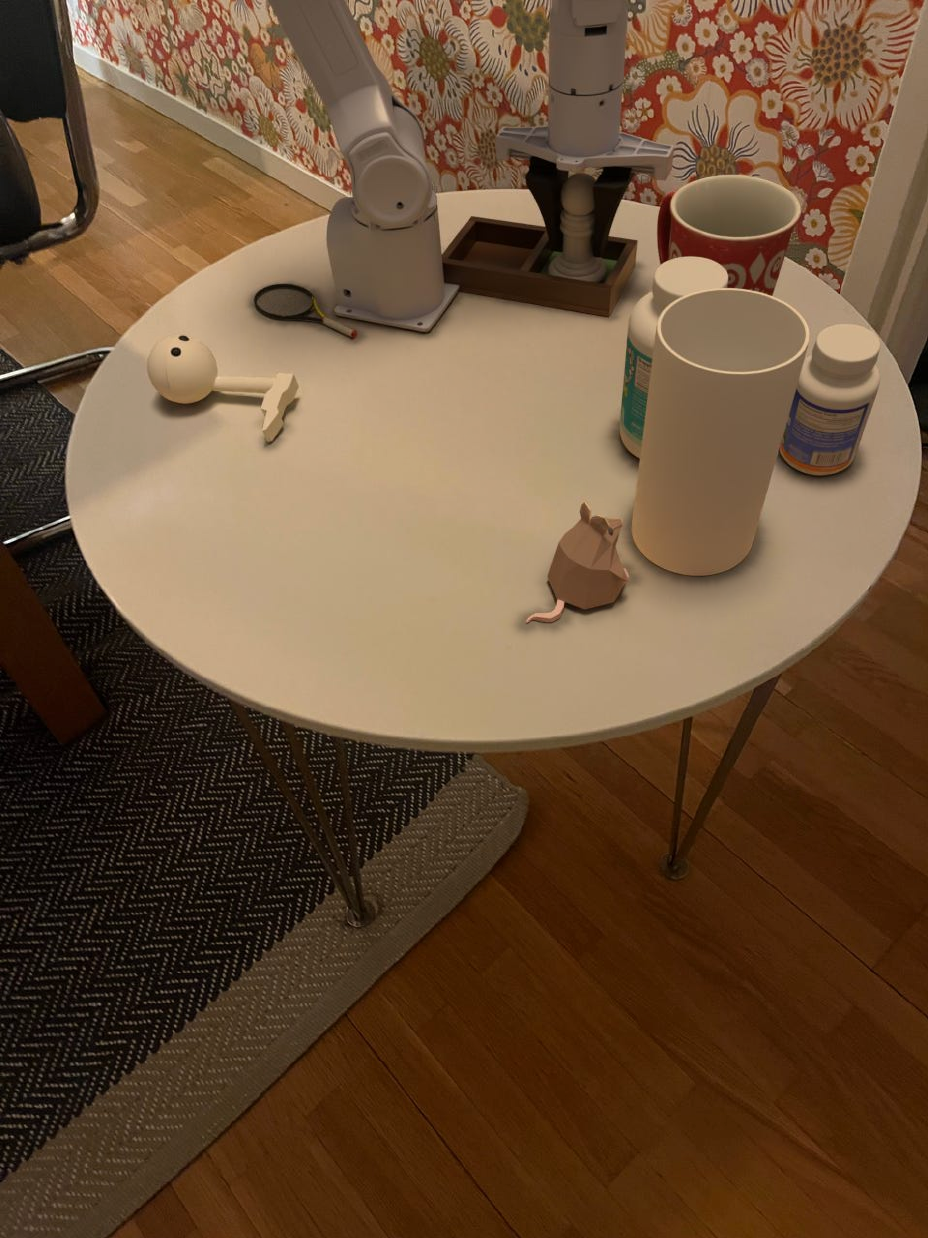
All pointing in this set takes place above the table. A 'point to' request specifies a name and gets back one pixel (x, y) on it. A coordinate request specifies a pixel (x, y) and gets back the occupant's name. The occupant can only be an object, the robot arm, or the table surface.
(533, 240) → the tray
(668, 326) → the cup
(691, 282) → the pill bottle
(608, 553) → the mouse figurine
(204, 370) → the figurine
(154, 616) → the table surface
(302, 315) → the tennis racket
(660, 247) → the mug
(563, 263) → the chess piece
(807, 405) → the pill bottle
